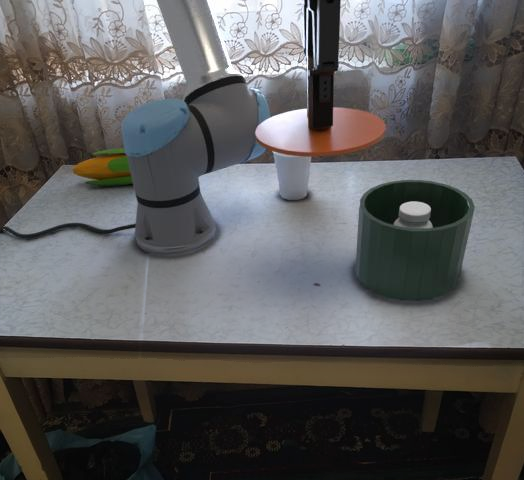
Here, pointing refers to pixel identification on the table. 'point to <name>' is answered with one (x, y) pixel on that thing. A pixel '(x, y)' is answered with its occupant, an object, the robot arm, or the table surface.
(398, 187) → the tin
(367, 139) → the tin lid
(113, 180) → the corn
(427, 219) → the pill bottle
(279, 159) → the dixie cup
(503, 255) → the table surface
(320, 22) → the robot arm
